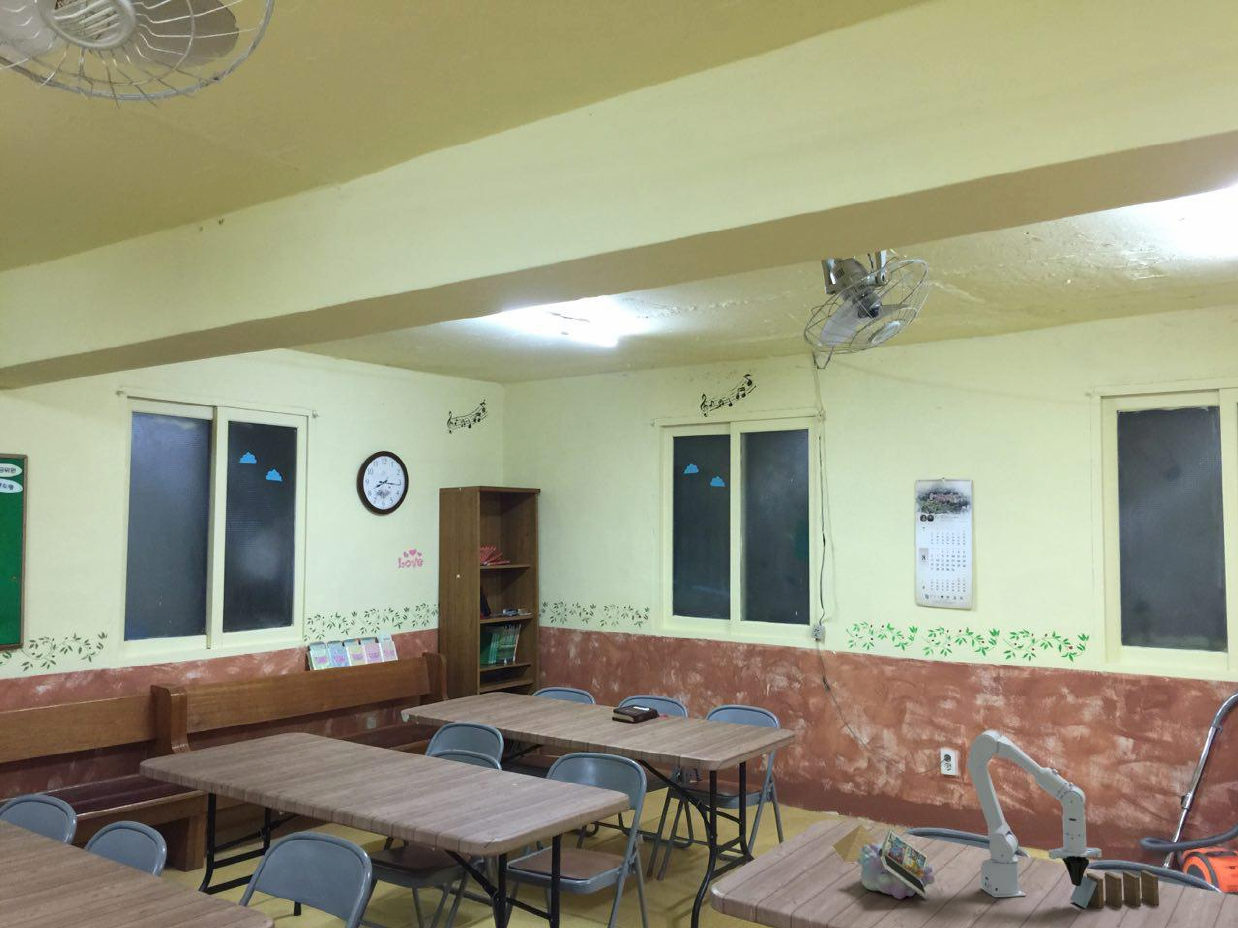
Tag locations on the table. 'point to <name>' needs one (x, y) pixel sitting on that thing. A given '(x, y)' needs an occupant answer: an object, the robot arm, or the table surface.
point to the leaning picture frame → (895, 867)
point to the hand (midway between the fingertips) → (1076, 884)
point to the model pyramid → (854, 844)
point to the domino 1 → (1083, 892)
